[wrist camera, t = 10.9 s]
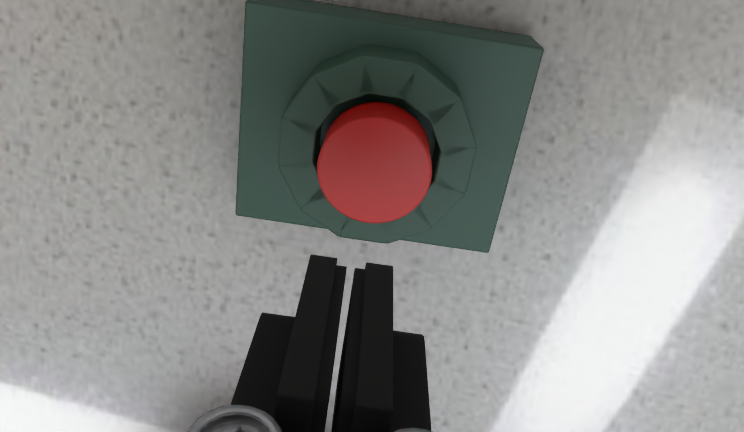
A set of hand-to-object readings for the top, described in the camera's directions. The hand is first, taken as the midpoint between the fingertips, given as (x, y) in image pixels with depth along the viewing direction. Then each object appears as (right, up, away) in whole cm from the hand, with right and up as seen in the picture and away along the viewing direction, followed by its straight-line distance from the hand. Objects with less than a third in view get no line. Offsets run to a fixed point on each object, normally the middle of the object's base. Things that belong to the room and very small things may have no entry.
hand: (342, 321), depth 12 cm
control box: (+1, +6, +11) cm, 13 cm away
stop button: (+1, +4, +8) cm, 9 cm away
